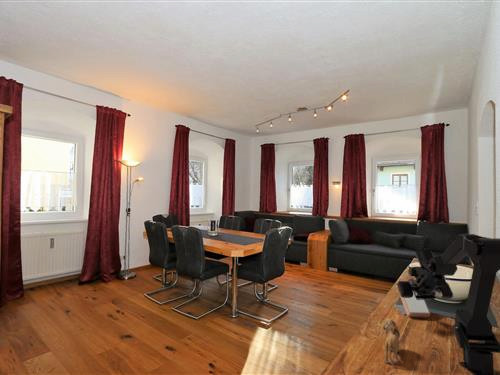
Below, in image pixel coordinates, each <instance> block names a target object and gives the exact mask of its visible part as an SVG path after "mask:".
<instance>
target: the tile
mask: <svg viewBox="0 0 500 375" xmlns="http://www.w3.org/2000/svg"><path fill="white" fill-rule="evenodd" d="M399 296H400V299H401V302H402V305H404V308H405V311H406V314H407V315H406V316H407V318H408V317H409V318H429V317H430V315H431V312H430V310H429V307H428V305H427V303H426V301H425V300H416V298H415V295H414V293H413V297H411V298H403V297H401V295H400V294H399Z"/></svg>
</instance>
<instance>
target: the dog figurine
mask: <svg viewBox="0 0 500 375" xmlns="http://www.w3.org/2000/svg"><path fill="white" fill-rule="evenodd" d="M380 326H381V328H382V329H383V330H384V331H385V334H386V339H385V343H384V363H385V364H388V363H389V361H390V363H391V366H392V367H395V363H394V361H393V358H392V352H393V353H394V354H393V357H394V360H395V361H396V362H397V363H398V362H400V361H401V360H400V358H399V357H398V353H399V352H400V349H399V348H400V337H401V336H400V335H401V334H400V330H399V327H398V325H397V323H396V322H395V321H394V320H393V319H391V318H386V320H385V322H383V323H381V324H380ZM391 350H392V351H391ZM388 357H389V358H388Z"/></svg>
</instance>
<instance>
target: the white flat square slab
mask: <svg viewBox="0 0 500 375" xmlns="http://www.w3.org/2000/svg"><path fill="white" fill-rule="evenodd" d="M393 306H394V307H395V309H397V311H398V312H400V313H401V314H402V315H403V316H407V314H406V311H405V308H404V305H403V304H393Z"/></svg>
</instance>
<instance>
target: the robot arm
mask: <svg viewBox="0 0 500 375" xmlns="http://www.w3.org/2000/svg"><path fill="white" fill-rule="evenodd" d="M455 237H456V238H455V240H454V241H453V242H452V243H451V244H450V245H449V246H447V248H446V249H445V250H444V251H443V253H441V254H438V255H436V256H434V253H433V251H432V249H431V248H429V247H427V248H426V247H425V248H424V249H422V250H419V251H417V252H416V253H415V256H416V259H417V261H418V264H419V266H411V267H409V268H408V273H407V274H409V276H410V277H414V278H415V279H414V282H415V283H410V281H409V280H399V281H398V282H397V283H396V286H397V288H398V292H399V296H400V295H401V297H403V298H411V297H413V293H414V295H415V298H416V300H426V301H427V300H436V295H441V298H442V299H443V300H451V299H453V297H454V293H453V290H452V288H451V286H450V285H449V283H448V282H447V281H446V277H447V276H448V277H449V276H450V277H453V276H454V275H455V274H456V272H457V271H458V267H457V265H458V264H459V263H460V262H461V261H463V259H465V258H466V256H468V257H469V259H470V261H471V263H472V264H473V267H472V268H473V269H472V275H471V279H470V283H469V289H468V294H467V299H466V303H465V308H464V309H463V308H461V309H460V308H458V309H456V311H455V317H454V318H453V321H454V324H453V329H454V333H455V338H456V339H455V340H456V343H457V344H458V345H459V348H460V349H462V355H463V356H462V357H463V358H462V359H463V360H462V361H459V362H458V363H459V365H460V366H462V367H464V368H465V369H466V370H468V371H469V372H470V373H472V374H473V375H500V374H499V372H497V371H496V370H494V368H495V367H494V353H496V354H500V343H499V341H498V339H497V337H496V335H495V333H494V331H493V325H492V322H491V321H490V319H489V317H488V315H489V310H490V304H491V301H492V296H493V291H494V287H495V282H496V279H497V278H496V277H497V273H498V272H499V271H500V238H498V237H497V238H491V237H487V236H486V237H485V236H481V235H478V234H475V233H460V234H457V235H456V236H455ZM401 297H400V298H401Z"/></svg>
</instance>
